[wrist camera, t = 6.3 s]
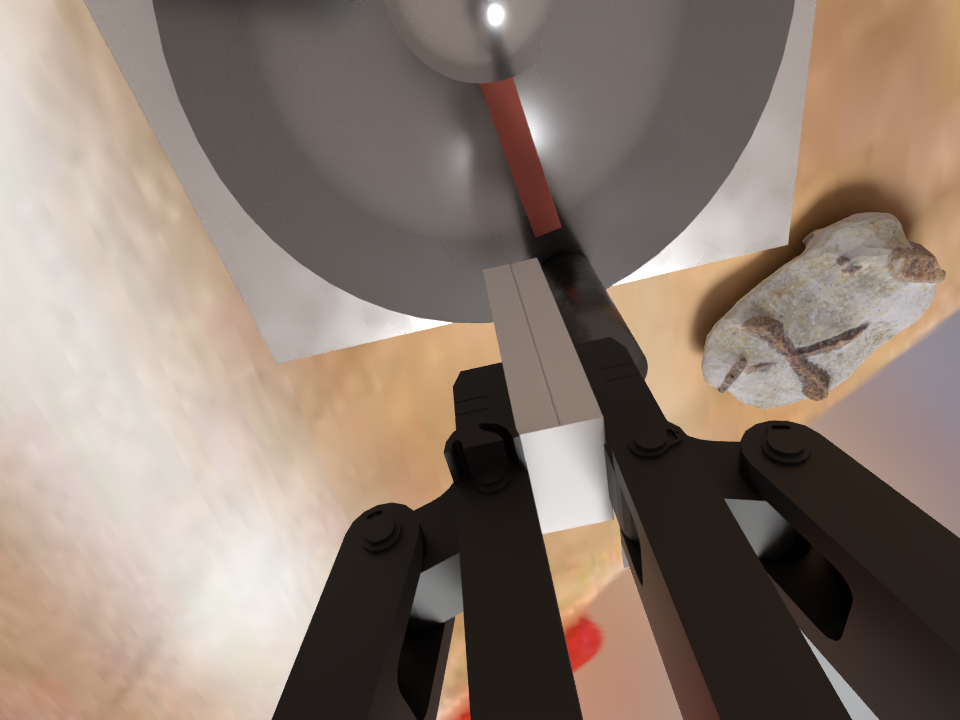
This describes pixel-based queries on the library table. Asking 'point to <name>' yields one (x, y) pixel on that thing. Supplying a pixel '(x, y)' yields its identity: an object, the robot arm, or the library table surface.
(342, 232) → the crank handle wheel
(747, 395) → the stone
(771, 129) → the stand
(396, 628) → the robot arm
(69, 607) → the library table surface
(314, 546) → the library table surface
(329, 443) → the library table surface
